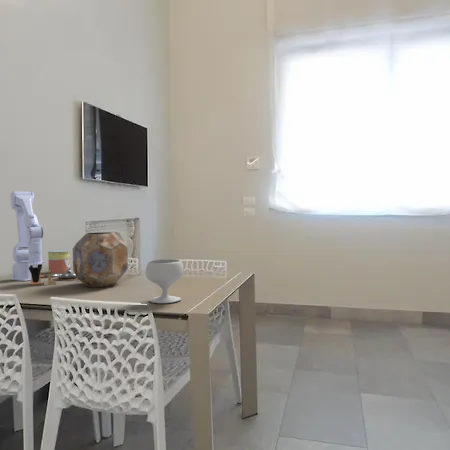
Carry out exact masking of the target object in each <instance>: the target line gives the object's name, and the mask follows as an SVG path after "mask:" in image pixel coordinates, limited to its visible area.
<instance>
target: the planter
mask: <svg viewBox="0 0 450 450" xmlns="http://www.w3.org/2000/svg"><path fill="white" fill-rule="evenodd" d="M128 251H129V250H128V246H127V245H126V244H125V242H124V240H122V239H121V238H120V237H119V236H118V235H117V234H116V233H115V232H105V231H103V232H87V233H85V234H84V235H83V236H82V237H81V238H80V239H79V240H78V241H77V242H76V243H75V244H74V246H73V248H72V267H73V272H74V273H75V275H76V277H77V279H76V280H79V281H80V282H81V283H82V284H83V285H85V286H86V287H91V288H103V287H104V286H105V287H111V286H112V285H113V286H114V285H116V283H117V282H118V281H119V280H120V279H121V278H122V277H123V276H124V275H125V274H126V272H127V271H128V270H129V262H128V261H129V259H128Z"/></svg>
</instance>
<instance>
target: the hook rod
mask: <svg viewBox="0 0 450 450" xmlns="http://www.w3.org/2000/svg"><path fill="white" fill-rule="evenodd" d="M41 271H42V270H41ZM41 271H40V275H39V281H38V282H36V283H33V280H32V275H31V280H30V283H31V285H41V284H42V281H41V280H42V279H48V274H45V275H44V274H43V275H41ZM61 276H62V275H61V274H51V279H56V278H58V277H61Z"/></svg>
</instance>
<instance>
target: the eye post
mask: <svg viewBox="0 0 450 450" xmlns="http://www.w3.org/2000/svg"><path fill="white" fill-rule="evenodd" d="M47 275H48V278H47V281H46V280H45V281H43V285H44V286H51V285H52V286H53V285H56V280H52V278H51V275H52V274H51V269H49V268H48V269H47Z"/></svg>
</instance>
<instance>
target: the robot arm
mask: <svg viewBox="0 0 450 450" xmlns="http://www.w3.org/2000/svg"><path fill="white" fill-rule="evenodd" d="M34 202H35V193H34V192H33V191H15V190H12V191H11V192H10V206H11V209H13V211H15V215H16V225H17V237H18V243H16V244H15V245H14V246H13V249H12V258H13V261H14V263H13V264H12V268H11V269H12V270H11V271H12V275H11V276H12V278H10V280H12V281H19V282H21V281H22V282H26V281H31V275H32V280H33V283H36V282H38V281H39V275H40V271H42V269H43V264H44V263H46V261H45V260H43V251H42V249H43V245H42V242H43V241H42V239H43V238H44V228H43V226H42V225H41V224H40V223H39V220H38V217H37V215H36V214H35V213H34V210H33V204H34Z"/></svg>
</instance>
